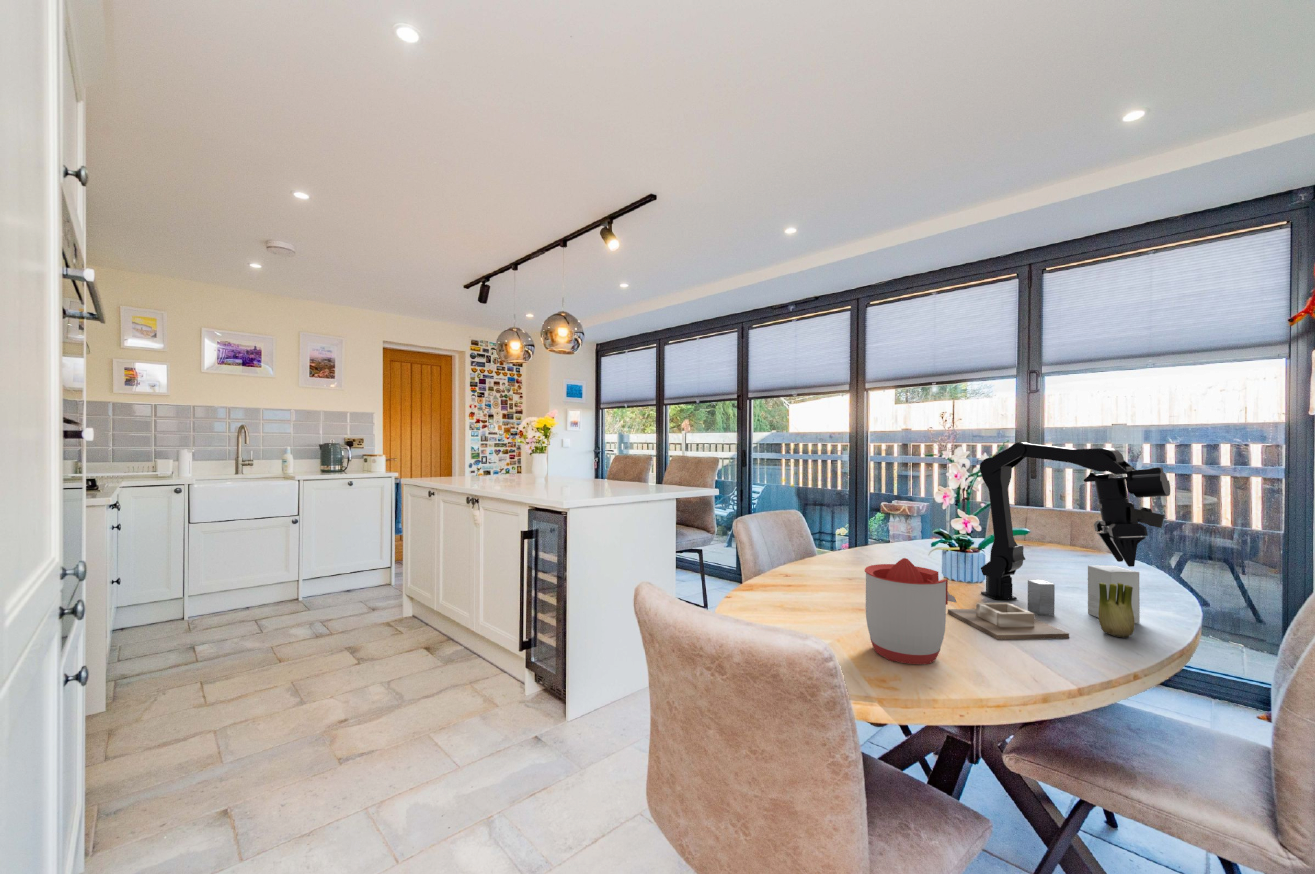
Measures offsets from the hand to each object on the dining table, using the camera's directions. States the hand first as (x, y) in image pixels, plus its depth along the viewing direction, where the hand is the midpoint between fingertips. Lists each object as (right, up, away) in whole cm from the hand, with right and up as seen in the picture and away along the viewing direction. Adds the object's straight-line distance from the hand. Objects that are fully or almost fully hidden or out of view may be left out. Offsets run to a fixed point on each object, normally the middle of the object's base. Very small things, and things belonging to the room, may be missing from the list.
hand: (1125, 563), depth 128 cm
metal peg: (-14, -15, +9) cm, 22 cm away
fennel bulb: (-8, -15, -6) cm, 18 cm away
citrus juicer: (-61, -15, -18) cm, 65 cm away
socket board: (-29, -15, 0) cm, 33 cm away
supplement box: (+2, -15, +5) cm, 16 cm away
